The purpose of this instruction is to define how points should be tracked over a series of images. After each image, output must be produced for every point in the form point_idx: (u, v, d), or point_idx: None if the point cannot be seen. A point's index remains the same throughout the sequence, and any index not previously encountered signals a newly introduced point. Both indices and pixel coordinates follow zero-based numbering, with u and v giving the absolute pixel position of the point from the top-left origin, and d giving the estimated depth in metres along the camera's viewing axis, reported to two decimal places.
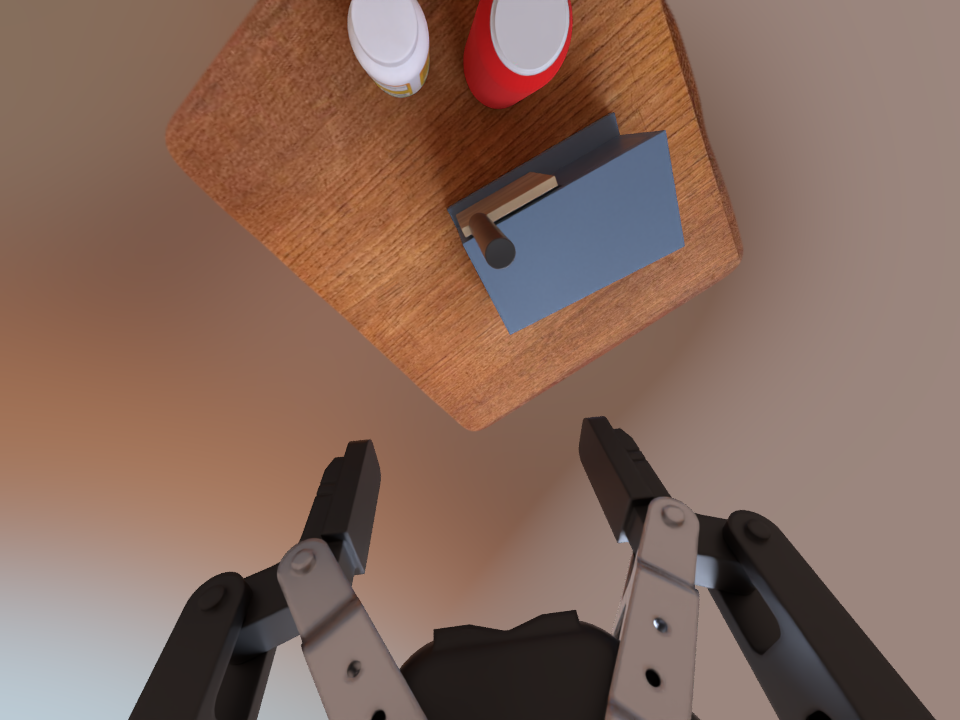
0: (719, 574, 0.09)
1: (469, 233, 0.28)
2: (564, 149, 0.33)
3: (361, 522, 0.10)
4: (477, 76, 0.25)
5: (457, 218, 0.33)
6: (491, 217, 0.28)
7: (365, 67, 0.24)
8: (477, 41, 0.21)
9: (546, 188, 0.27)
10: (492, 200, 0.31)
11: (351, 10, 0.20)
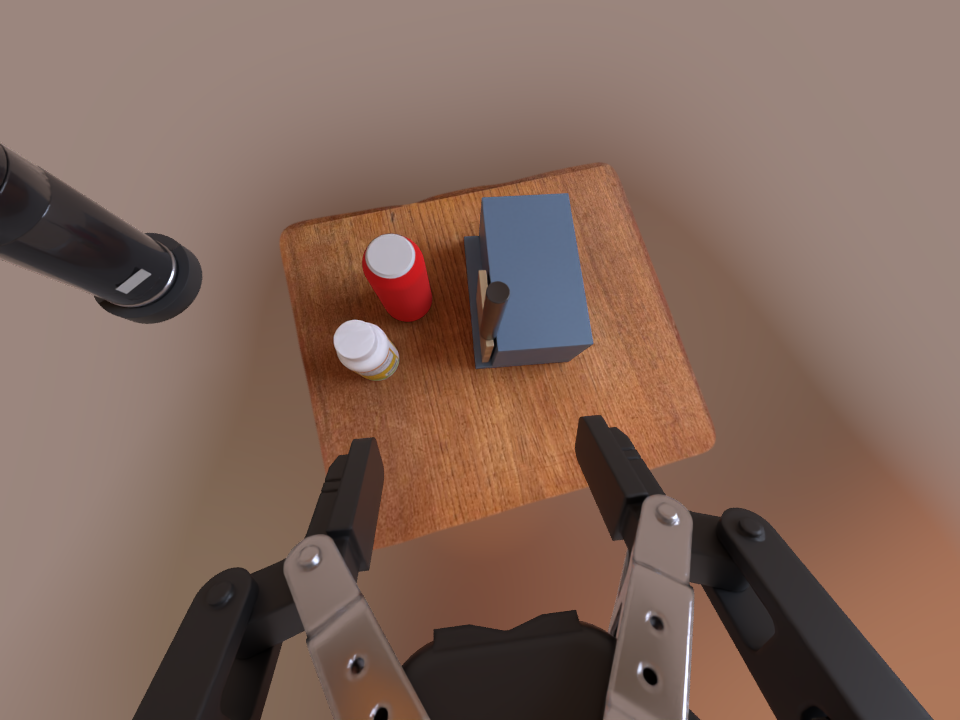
0: (712, 571, 0.09)
1: (492, 342, 0.35)
2: (472, 272, 0.45)
3: (365, 519, 0.11)
4: (404, 304, 0.37)
5: (483, 357, 0.40)
6: None
7: (369, 367, 0.35)
8: (386, 289, 0.34)
9: (484, 278, 0.36)
10: (480, 325, 0.39)
11: (341, 354, 0.33)
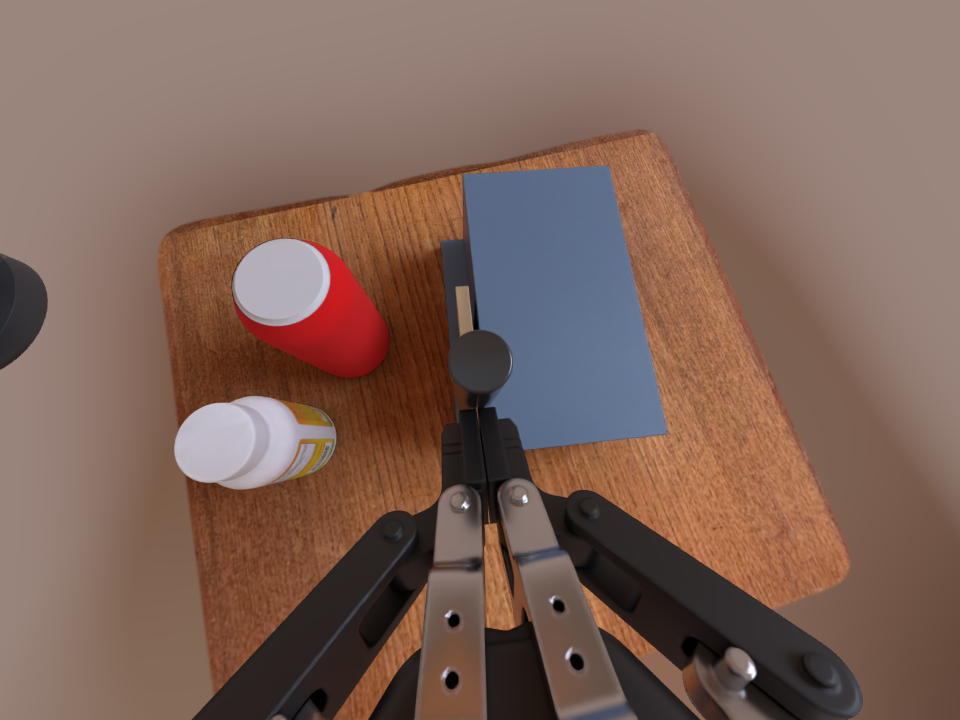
0: None
1: None
2: (453, 296, 0.29)
3: None
4: (328, 360, 0.21)
5: None
6: None
7: (258, 483, 0.19)
8: (278, 345, 0.18)
9: (465, 300, 0.20)
10: None
11: (187, 474, 0.17)
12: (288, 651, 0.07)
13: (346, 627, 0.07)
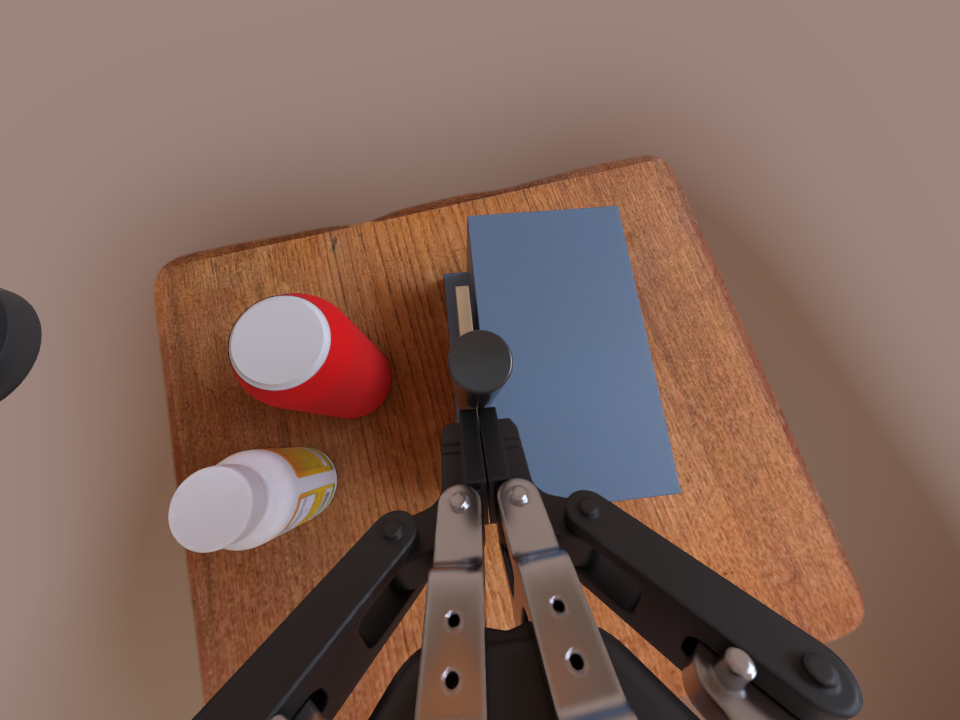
0: None
1: None
2: (456, 332, 0.28)
3: None
4: (328, 412, 0.21)
5: None
6: None
7: (256, 545, 0.19)
8: (276, 406, 0.17)
9: (465, 300, 0.20)
10: None
11: (181, 544, 0.16)
12: (288, 651, 0.07)
13: (346, 627, 0.07)
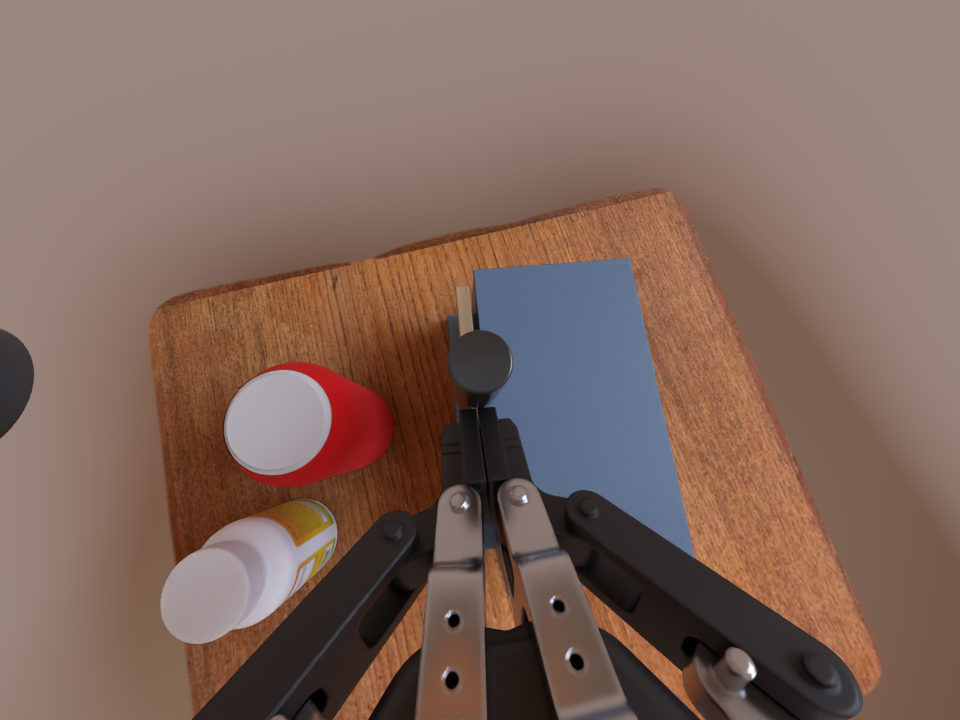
0: None
1: None
2: None
3: None
4: None
5: None
6: None
7: (253, 623, 0.18)
8: None
9: (466, 299, 0.20)
10: None
11: (174, 635, 0.15)
12: (288, 651, 0.07)
13: (346, 627, 0.07)
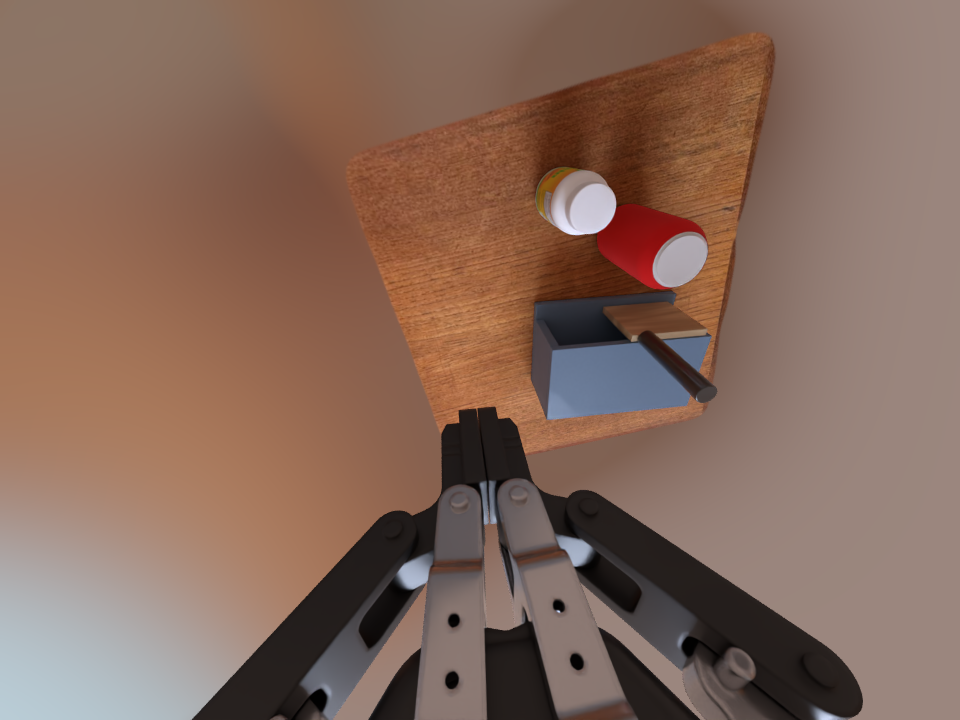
0: None
1: (635, 340, 0.37)
2: (634, 301, 0.43)
3: None
4: (619, 252, 0.34)
5: (612, 314, 0.41)
6: None
7: (555, 216, 0.31)
8: (641, 250, 0.30)
9: (698, 334, 0.37)
10: (645, 315, 0.40)
11: (577, 194, 0.28)
12: (288, 651, 0.07)
13: (346, 627, 0.07)
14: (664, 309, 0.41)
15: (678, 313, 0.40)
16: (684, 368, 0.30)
